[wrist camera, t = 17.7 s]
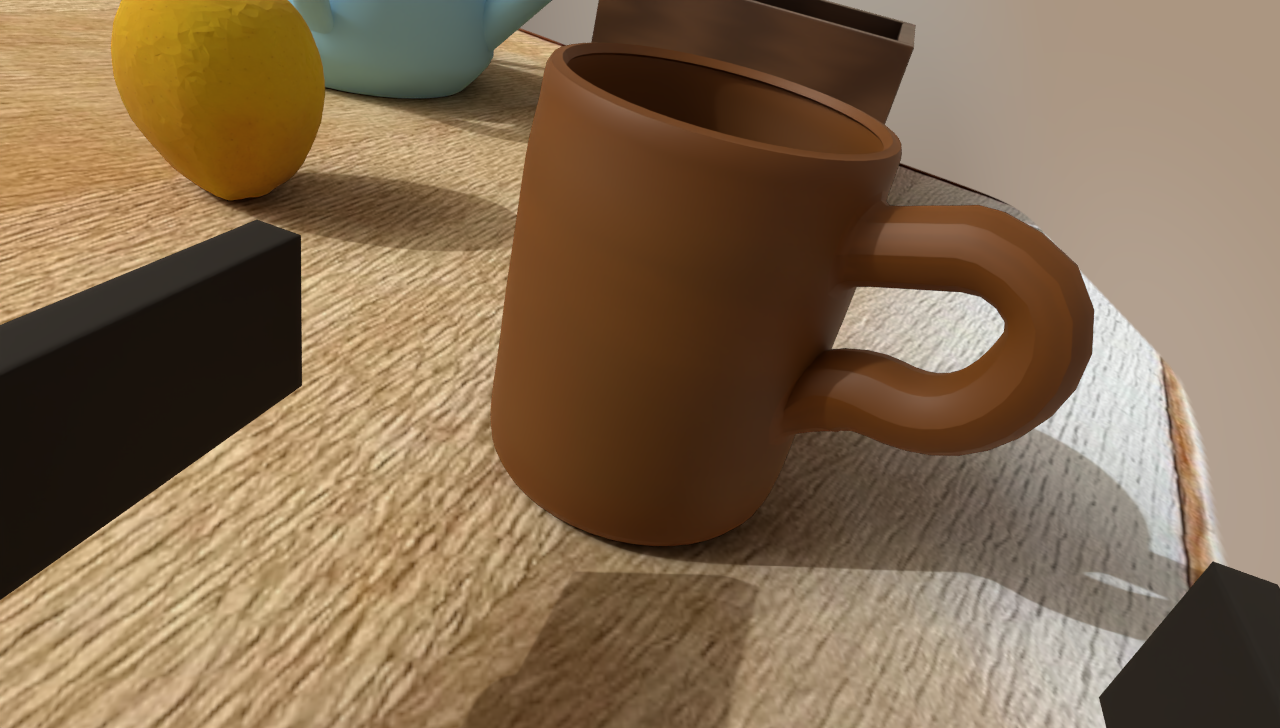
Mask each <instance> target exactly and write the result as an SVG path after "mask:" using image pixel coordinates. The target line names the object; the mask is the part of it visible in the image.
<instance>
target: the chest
mask: <svg viewBox="0 0 1280 728" xmlns="http://www.w3.org/2000/svg"><path fill="white" fill-rule="evenodd" d="M914 35H915V25H913V24H910V23H906V22H903V21H899V20H895V19H891V18H888V17H884V16H881V15H877V14H873V13H870V12H866V11H863V10H859V9H855V8H851V7H848V6H844V5H840V4H837V3H833V2H829V1H826V0H599V3H598V9H597V14H596V20H595V25H594V31H593V37H592V42H591V43H621V44H632V45H641V46H649V47H656V48H662V49H668V50H674V51H679V52H684V53H689V54H694V55H699V56H703V57H708V58H712V59H716V60H720V61H724V62H728V63H732V64H736V65H739V66H743V67H747V68H750V69H754V70H757V71H760V72H764V73H767V74H770V75H773V76H776V77H779V78H782V79H785V80H788V81H791V82H794V83H797V84H800V85H802V86H805V87H808V88H810V89H813V90H816V91H818V92H821V93H823V94H826V95H828V96H830V97H833V98H835V99H838V100H840V101H842V102H844V103H846V104H849V105H851V106H853V107H855V108H857V109H859V110H861V111H863V112H865V113H866V114H868V115H870V116H871V117H873V118H875V119H877V120H878V121H880V122H881V123H882V124H884V125H885V123H886V120H887V117H888V115H889V112H890V109H891V107H892V104H893V101H894V99H895V96H896V94H897V91H898V88H899V86H900V83H901V80H902V78H903V75H904V73H905V70H906V67H907V65H908V62H909V59H910V57H911V54H912V51H913V49H914V37H915V36H914Z"/></svg>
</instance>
